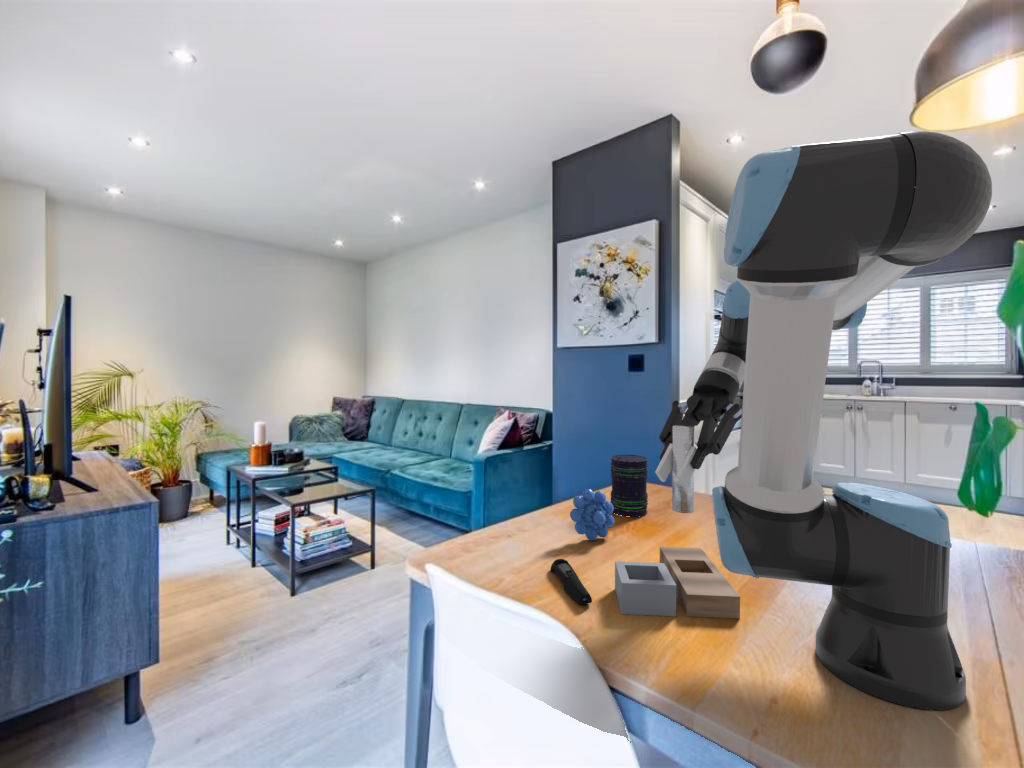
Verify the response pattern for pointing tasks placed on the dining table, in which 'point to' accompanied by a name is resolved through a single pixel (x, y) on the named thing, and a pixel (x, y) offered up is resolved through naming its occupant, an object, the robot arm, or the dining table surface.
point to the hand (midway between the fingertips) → (670, 479)
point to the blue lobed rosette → (592, 514)
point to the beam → (700, 584)
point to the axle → (681, 447)
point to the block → (645, 589)
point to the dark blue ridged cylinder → (629, 485)
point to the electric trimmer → (571, 581)
